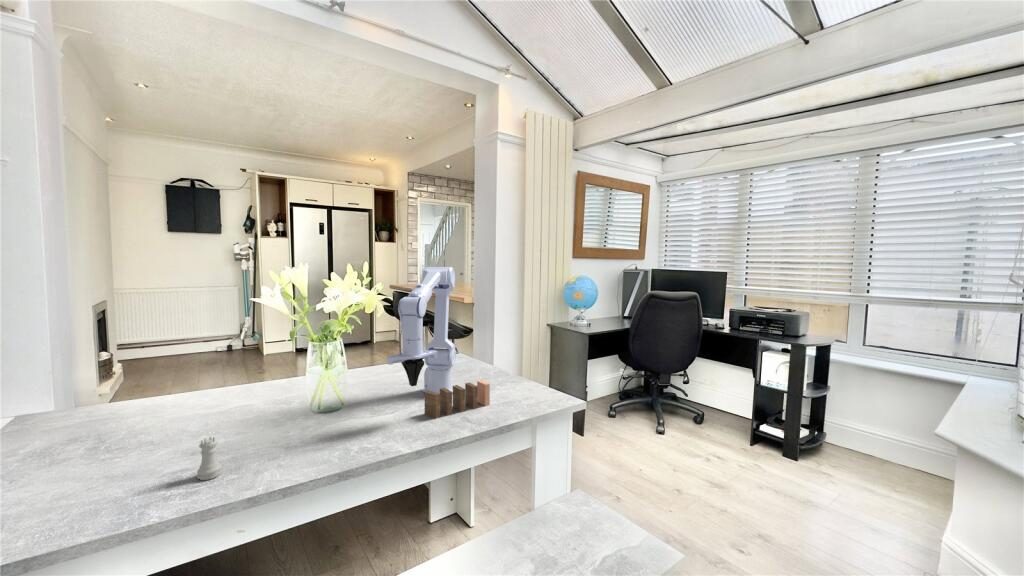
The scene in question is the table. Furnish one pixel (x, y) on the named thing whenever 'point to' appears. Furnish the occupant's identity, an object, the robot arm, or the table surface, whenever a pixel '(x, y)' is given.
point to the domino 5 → (483, 393)
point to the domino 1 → (432, 404)
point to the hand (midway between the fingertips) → (413, 385)
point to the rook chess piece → (209, 460)
